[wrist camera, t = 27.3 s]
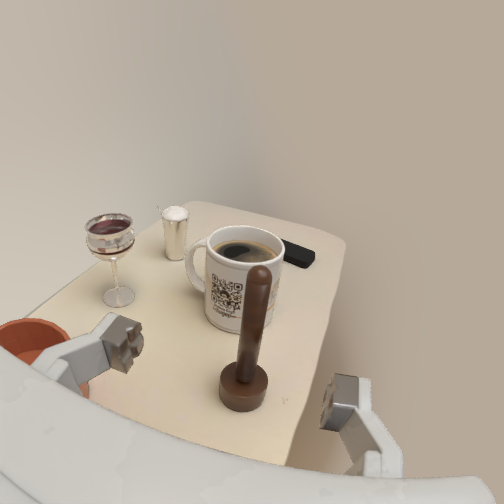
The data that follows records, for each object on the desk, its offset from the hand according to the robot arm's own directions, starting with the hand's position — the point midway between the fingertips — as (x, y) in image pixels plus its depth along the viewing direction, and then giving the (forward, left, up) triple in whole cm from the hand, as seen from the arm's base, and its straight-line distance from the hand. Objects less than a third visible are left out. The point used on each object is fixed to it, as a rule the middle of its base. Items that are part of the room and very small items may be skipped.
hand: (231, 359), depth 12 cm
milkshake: (+38, +14, -20) cm, 45 cm away
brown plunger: (+12, -1, -20) cm, 24 cm away
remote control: (+45, -4, -20) cm, 50 cm away
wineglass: (+25, +19, -20) cm, 38 cm away
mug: (+27, +2, -20) cm, 34 cm away
